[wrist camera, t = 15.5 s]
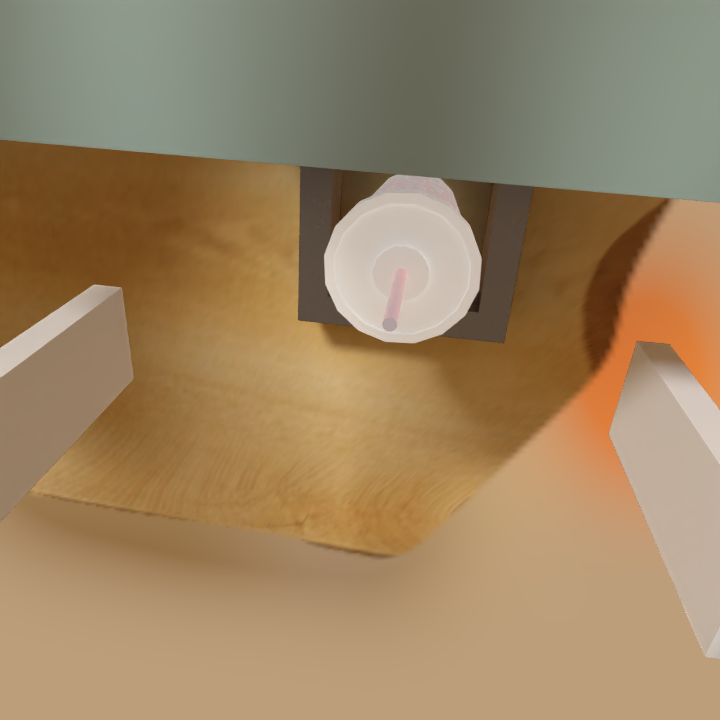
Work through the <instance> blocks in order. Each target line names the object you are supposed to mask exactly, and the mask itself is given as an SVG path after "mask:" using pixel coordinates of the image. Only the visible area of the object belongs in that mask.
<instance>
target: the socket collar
mask: <svg viewBox="0 0 720 720" xmlns="http://www.w3.org/2000/svg"><path fill="white" fill-rule="evenodd" d="M533 187H534V186H523V185H512V184H500V183H493V189H492V195H491V202H490V208H489V214H488V221H487V227H486V233H485V239H484V246H483V252H482V262H481V274H480V286H479V291H478V293H477V295H476V296H475V298H474V300H473V302H472V304H471V306H470V308H469V309H468V311H467V313H466V315H465V316H464V317H463V318H462V319H461V320H459V321H458V322H457V323H456V324H454V325H453V326H452V327H451V328H449V329H448V330H447V331H446V332H445V333H443V334H442V335H439V336H444V337H453V338H462V339H471V340H480V341H489V342H498V343H504V340H505V335H506V330H507V324H508V319H509V314H510V309H511V303H512V298H513V293H514V287H515V282H516V277H517V272H518V266H519V261H520V256H521V251H522V245H523V240H524V235H525V230H526V224H527V219H528V214H529V208H530V203H531V198H532V193H533ZM341 189H342V170H340V169H329V168H317V167H306V166H301V174H300V236H299V299H298V320H300V321H309V322H318V323H327V324H336V325H345V326H353V325H352V324H351V323H350V322H349V321H348V320H347V319H346V318H345V317H344V316H343V315H342V314H341V313H339V312H338V311H337V309H336V306H335V304H334V302H333V300H332V298H331V296H330V293H329V291H328V289H327V287H326V285H325V266H324V254H325V251H326V249H327V246H328V244H329V241H330V238H331V236H332V233H333V231H334V228H335V226H336V225H337V224H338V223H339V222H340V211H341Z"/></svg>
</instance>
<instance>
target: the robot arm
mask: <svg viewBox="0 0 720 720" xmlns="http://www.w3.org/2000/svg"><path fill="white" fill-rule="evenodd" d="M133 379H134V374H133V367H132V359H131V352H130V344H129V336H128V329H127V321H126V314H125V306H124V299H123V291H122V287H114V286H104V285H95V284H94V285H92V286H91V287H90V288H88V289H87V290H85V291H84V292H82V293H81V294H79V295H78V296H76V297H75V298H73V299H72V300H70V301H69V302H67V303H66V304H64V305H63V306H61V307H60V308H58V309H57V310H56V311H54V312H53V313H51V314H50V315H48V316H47V317H45V318H44V319H42V320H41V321H39V322H38V323H36V324H35V325H33V326H32V327H30V328H29V329H27V330H26V331H24V332H23V333H22V334H20V335H19V336H17V337H16V338H14V339H13V340H11V341H10V342H8V343H7V344H5V345H4V346H2V347H1V348H0V522H1V521H2V520H3V519H4V518H5V516H6V515H7V514H8V513H9V512H10V511H11V510H12V509H13V508H14V507H15V506H16V505H17V504H18V502H19V501H20V500H21V499H22V498H23V497H24V496H25V495H26V494H27V493H28V492H29V491H30V490H31V489H32V488H33V487H34V485H35V484H36V483H37V482H38V481H39V480H40V479H41V478H42V477H43V476H44V475H45V474H46V473H47V472H48V470H49V469H50V468H51V467H52V466H53V465H54V464H55V463H56V462H57V461H58V460H59V459H60V458H61V457H62V455H63V454H64V453H65V452H66V451H67V450H68V449H69V448H70V447H71V446H72V445H73V444H74V443H75V442H76V440H77V439H78V438H79V437H80V436H81V435H82V434H83V433H84V432H85V431H86V430H87V429H88V428H89V427H90V425H91V424H92V423H93V422H94V421H95V420H96V419H97V418H98V417H99V416H100V415H101V414H102V413H103V412H104V411H105V409H106V408H107V407H108V406H109V405H110V404H111V403H112V402H113V401H114V400H115V399H116V398H117V397H118V396H119V394H120V393H121V392H122V391H123V390H124V389H125V388H126V387H127V386H128V385H129V384H130V383H131V382H132V381H133ZM609 436H610V438H611V441H612V443H613V445H614V448H615V450H616V452H617V455H618V457H619V459H620V462H621V464H622V466H623V469H624V470H625V473H626V475H627V478H628V480H629V482H630V485H631V487H632V489H633V492H634V494H635V496H636V498H637V501H638V503H639V505H640V508H641V510H642V512H643V515H644V517H645V519H646V522H647V524H648V526H649V529H650V531H651V533H652V535H653V538H654V540H655V542H656V545H657V547H658V549H659V552H660V554H661V556H662V559H663V561H664V563H665V566H666V568H667V570H668V572H669V575H670V577H671V580H672V582H673V584H674V586H675V589H676V591H677V593H678V596H679V598H680V600H681V603H682V605H683V607H684V610H685V612H686V614H687V617H688V619H689V621H690V623H691V626H692V628H693V630H694V633H695V635H696V637H697V640H698V642H699V644H700V647H701V649H702V651H703V654H704V656H705V657H711V658H718V659H720V410H719V408H718V407H717V405H716V404H715V403H714V402H713V400H712V399H711V398H710V396H709V395H708V394H707V392H706V391H705V390H704V389H703V387H702V386H701V385H700V384H699V382H698V381H697V380H696V378H695V377H694V376H693V374H692V373H691V372H690V370H689V369H688V368H687V367H686V365H685V364H684V363H683V361H682V360H681V359H680V357H679V356H678V355H677V354H676V352H675V351H674V350H673V348H672V347H671V346H670V344H663V343H652V342H643V341H637V343H636V346H635V349H634V353H633V356H632V359H631V363H630V366H629V369H628V372H627V375H626V379H625V382H624V385H623V388H622V392H621V395H620V399H619V402H618V405H617V408H616V412H615V415H614V418H613V421H612V425H611V428H610V431H609Z"/></svg>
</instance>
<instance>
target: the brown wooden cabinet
mask: <svg viewBox="0 0 720 720" xmlns="http://www.w3.org/2000/svg"><path fill="white" fill-rule="evenodd" d="M0 140H9V141H20V142H32V143H43V144H55V145H66V146H77V147H89V148H100V149H112V150H123V151H135V152H146V153H157V154H169V155H180V156H192V157H203V158H215V159H226V160H237V161H249V162H260V163H272V164H283V165H295V166H306V167H317V168H329V169H340V170H352V171H363V172H375V173H386V174H397V175H409V176H420V177H432V178H443V179H455V180H466V181H477V182H489V183H500V184H512V185H523V186H535V187H546V188H557V189H569V190H580V191H592V192H603V193H615V194H626V195H637V196H649V197H660V198H672V199H683V200H695V201H706V202H717V203H720V0H0Z"/></svg>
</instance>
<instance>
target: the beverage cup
mask: <svg viewBox="0 0 720 720" xmlns="http://www.w3.org/2000/svg"><path fill="white" fill-rule="evenodd" d="M481 262H482V258H481V255H480V252H479V249H478V246H477V243H476V241H475V238H474V235H473V232H472V229H471V226H470V224H469V223H468V222H467V221H466V220H465V219H464V218H463V217H462V216H461V215H460V211H459V208H458V206H457V203H456V200H455V197H454V194H453V191H452V190H451V189H450V188H449V187H448V186H447V185H446V184H445V183H444V182H443V181H442V179H441V178H432V177H420V176H409V175H395V176H392V177H390V178H389V179H388V180H387V181H386V182H385V183H384V184H383V185H382V186H381V187H380V188H379V189H378V190H377V191H376V192H375V193H374V194H373V195H372V196H371V197H368V198H366V199H363V200H361V201H359V202H358V203H357V204H356V205H355V206H354V207H353V208H352V209H351V210H350V211H349V212H348V214H347V215H346V216H345V217H344V218H343V219H342V220H341V221H340V222H339V223H338V224H337V225H336V226H335V228H334V231H333V233H332V236H331V238H330V241H329V244H328V246H327V249H326V251H325V254H324V266H325V285H326V287H327V289H328V291H329V293H330V296H331V298H332V300H333V302H334V304H335V306H336V309H337V311H338V312H339V313H341V314H342V315H343V316H344V317H345V318H346V319H347V320H348V321H349V322H350V323H351V324H352V325H353V326H354V327H355V328H356V329H357V330H358V331H361V332H363V333H365V334H368V335H370V336H372V337H375V338H377V339H380V340H382V341H384V342H398V343H417V342H420V341H423V340H426V339H429V338H432V337H436V336H439V335H442V334H443V333H445V332H446V331H447V330H448V329H449V328H451V327H452V326H453V325H454V324H456V323H457V322H458V321H459V320H461V319H462V318H463V317H464V316H465V315H466V313H467V311H468V309H469V308H470V306H471V304H472V302H473V300H474V298H475V296H476V295H477V293H478V291H479V286H480V274H481Z"/></svg>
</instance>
